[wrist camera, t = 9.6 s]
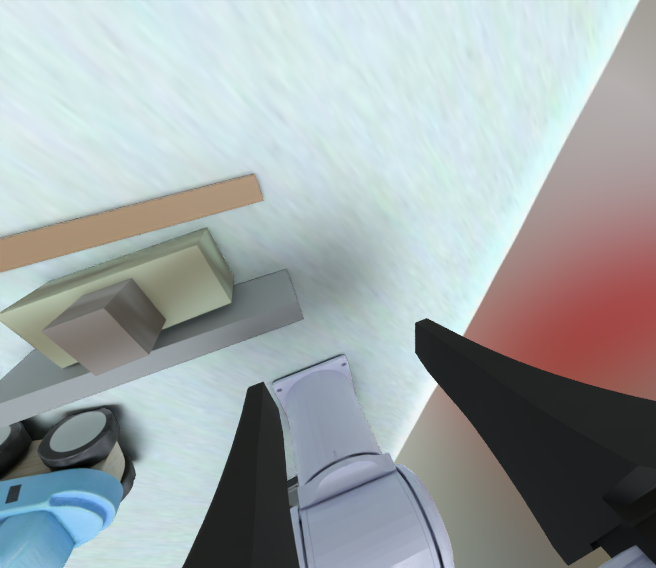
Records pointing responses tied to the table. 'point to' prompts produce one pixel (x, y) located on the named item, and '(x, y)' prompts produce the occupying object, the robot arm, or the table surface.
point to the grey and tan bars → (173, 342)
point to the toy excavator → (59, 488)
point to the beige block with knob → (123, 303)
